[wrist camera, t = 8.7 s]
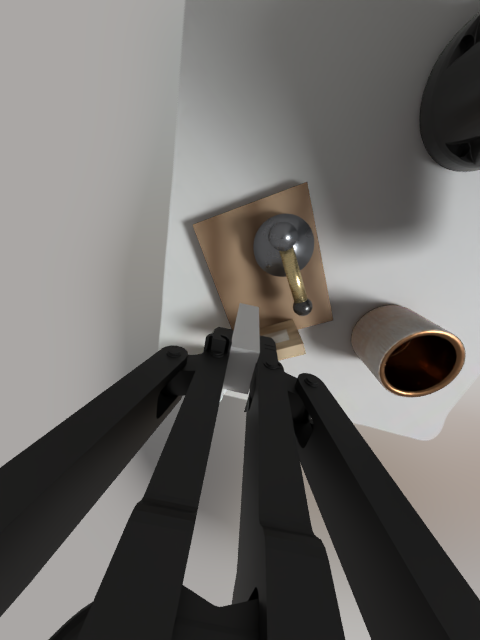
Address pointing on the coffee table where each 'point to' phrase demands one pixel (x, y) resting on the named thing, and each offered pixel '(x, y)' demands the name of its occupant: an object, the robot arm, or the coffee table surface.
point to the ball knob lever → (286, 254)
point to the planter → (407, 351)
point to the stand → (252, 281)
